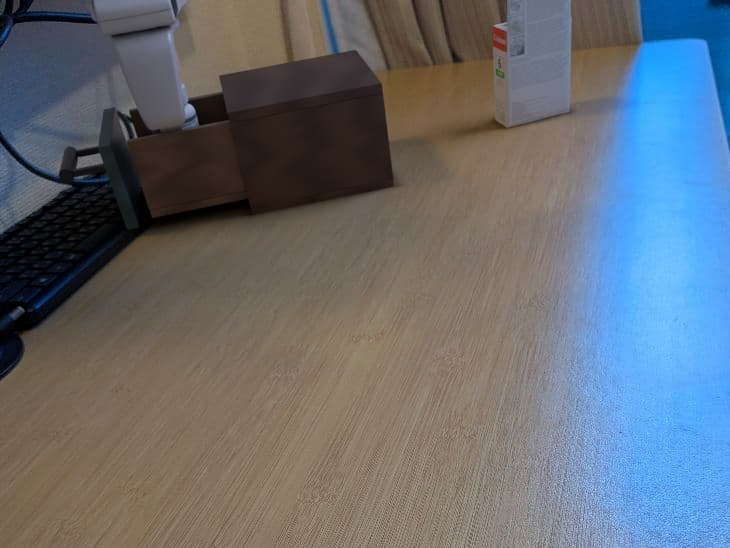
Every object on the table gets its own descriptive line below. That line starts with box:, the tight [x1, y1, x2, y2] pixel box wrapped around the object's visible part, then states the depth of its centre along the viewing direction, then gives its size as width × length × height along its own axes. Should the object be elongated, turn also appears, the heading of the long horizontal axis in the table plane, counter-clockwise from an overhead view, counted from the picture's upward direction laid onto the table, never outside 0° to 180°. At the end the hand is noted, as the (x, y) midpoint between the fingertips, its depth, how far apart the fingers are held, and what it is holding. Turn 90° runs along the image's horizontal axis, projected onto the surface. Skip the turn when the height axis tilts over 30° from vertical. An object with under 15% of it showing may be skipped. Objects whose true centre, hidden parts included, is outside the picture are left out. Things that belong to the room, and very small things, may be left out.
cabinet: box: [218, 49, 395, 216], centre depth 85 cm, size 15×14×10 cm
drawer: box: [58, 91, 248, 231], centre depth 84 cm, size 18×13×8 cm
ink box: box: [492, 0, 572, 129], centre depth 90 cm, size 4×8×15 cm, turn 110°
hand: (180, 149), depth 84 cm, fingers closed on pill bottle, 5 cm apart
